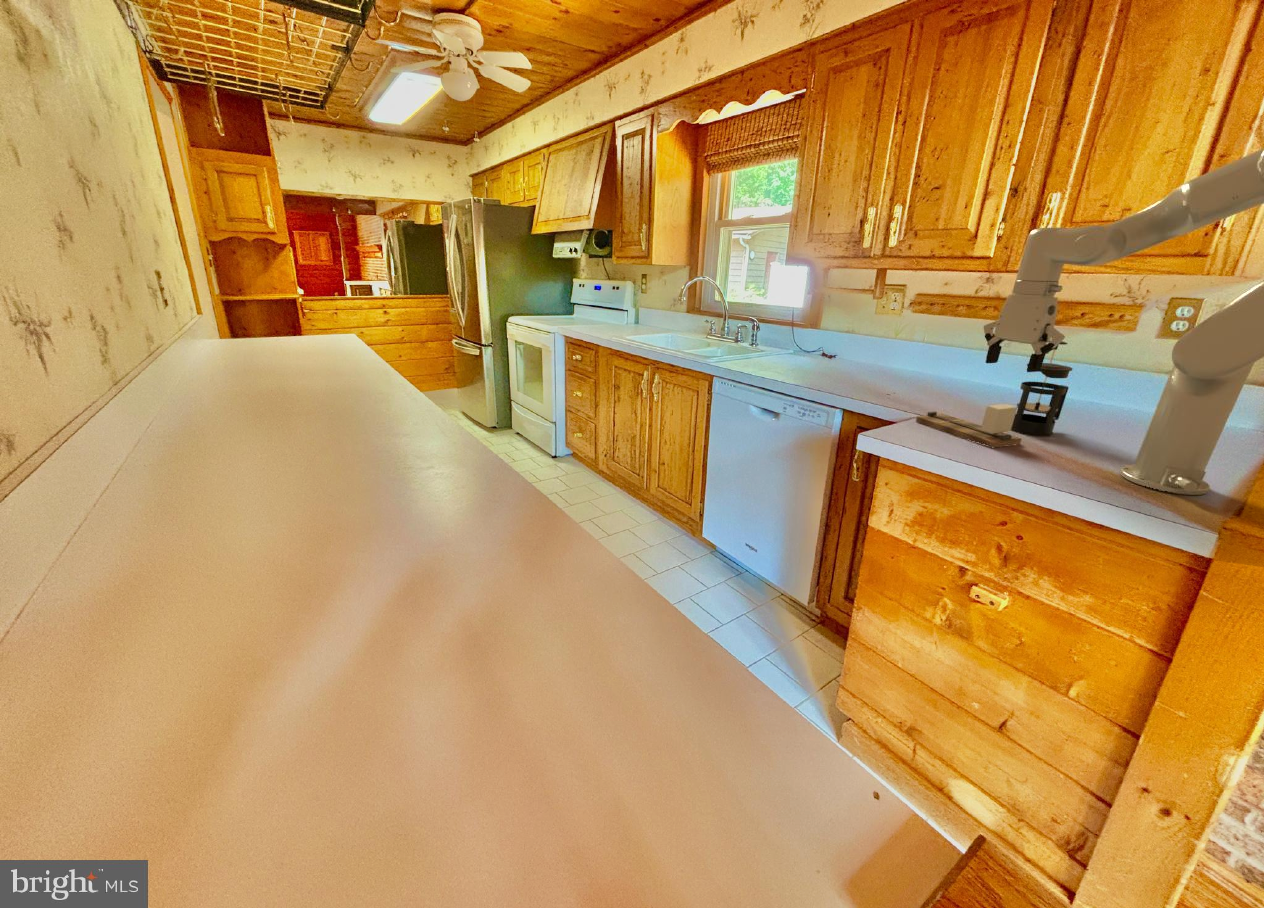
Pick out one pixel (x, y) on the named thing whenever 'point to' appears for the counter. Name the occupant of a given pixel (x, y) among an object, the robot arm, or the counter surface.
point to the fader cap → (998, 418)
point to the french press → (1036, 423)
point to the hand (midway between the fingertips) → (1011, 367)
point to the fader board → (966, 430)
